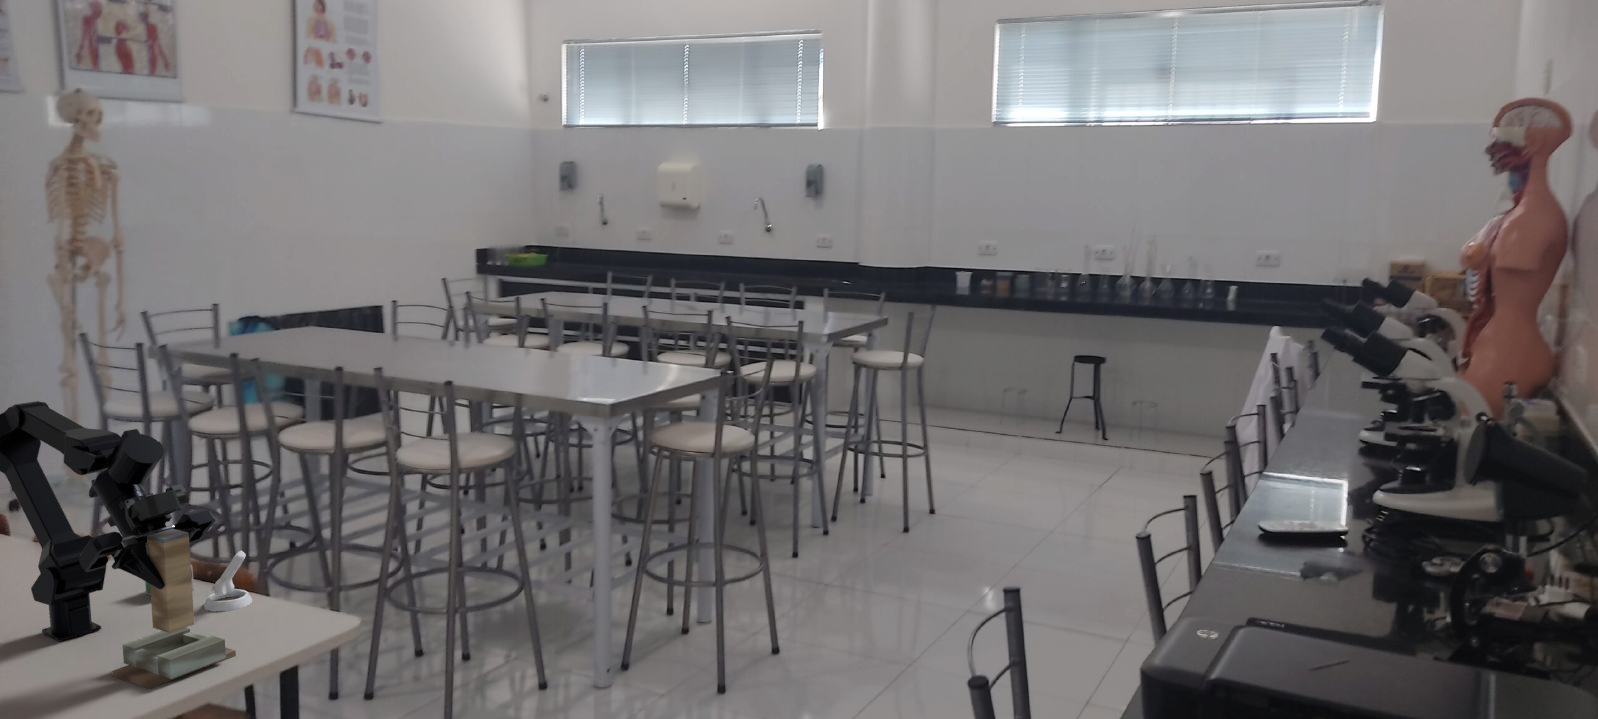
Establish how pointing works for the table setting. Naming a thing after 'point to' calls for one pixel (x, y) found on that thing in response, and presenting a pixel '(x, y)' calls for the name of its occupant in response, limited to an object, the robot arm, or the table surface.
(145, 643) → the socket
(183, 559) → the rail post
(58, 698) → the table surface
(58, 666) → the table surface
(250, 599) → the white stemmed ring
